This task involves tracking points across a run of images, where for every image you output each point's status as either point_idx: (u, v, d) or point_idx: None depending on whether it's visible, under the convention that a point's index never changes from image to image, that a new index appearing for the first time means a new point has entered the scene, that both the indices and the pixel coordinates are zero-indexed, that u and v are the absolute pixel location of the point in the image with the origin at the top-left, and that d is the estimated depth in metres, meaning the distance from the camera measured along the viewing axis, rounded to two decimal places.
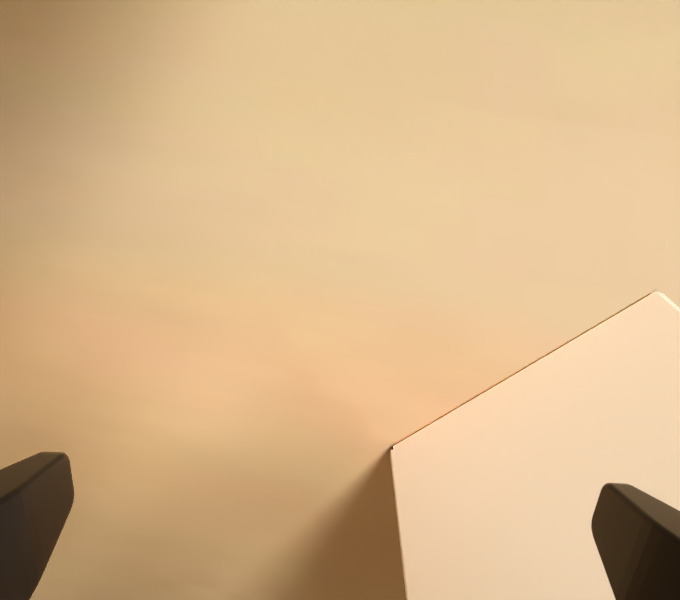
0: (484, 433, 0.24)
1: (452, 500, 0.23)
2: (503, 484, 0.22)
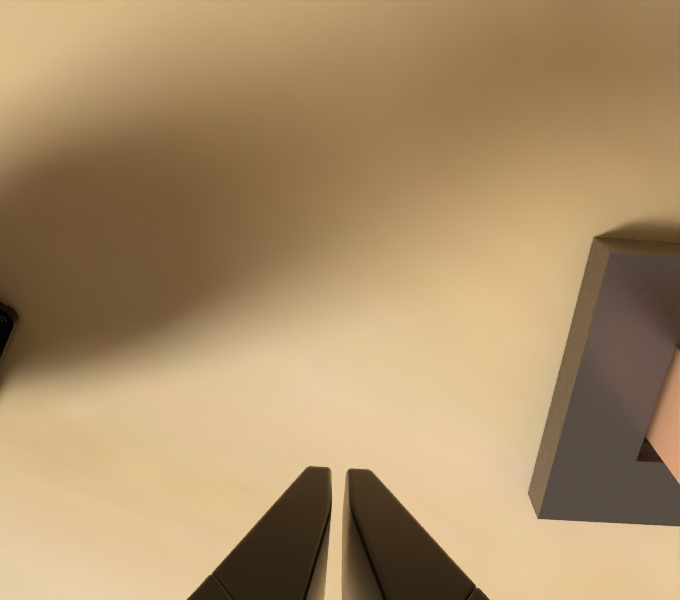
0: None
1: None
2: None
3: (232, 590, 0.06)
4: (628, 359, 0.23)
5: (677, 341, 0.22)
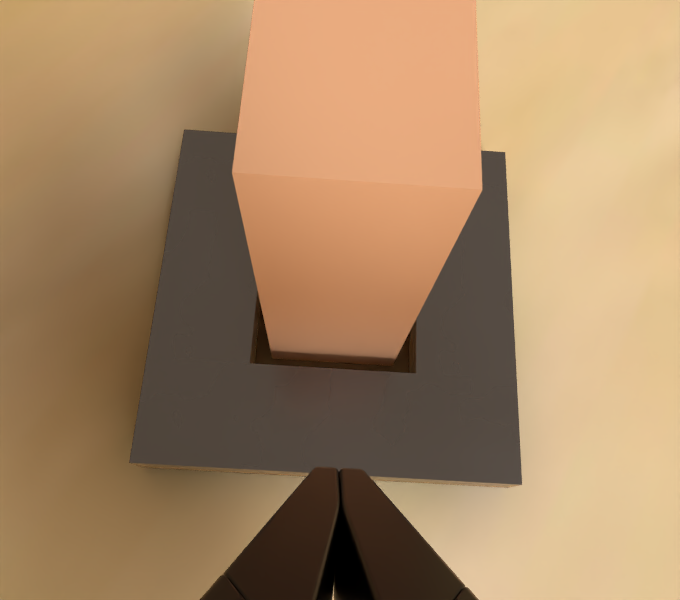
0: None
1: None
2: None
3: (244, 591, 0.06)
4: (269, 413, 0.19)
5: (247, 363, 0.20)
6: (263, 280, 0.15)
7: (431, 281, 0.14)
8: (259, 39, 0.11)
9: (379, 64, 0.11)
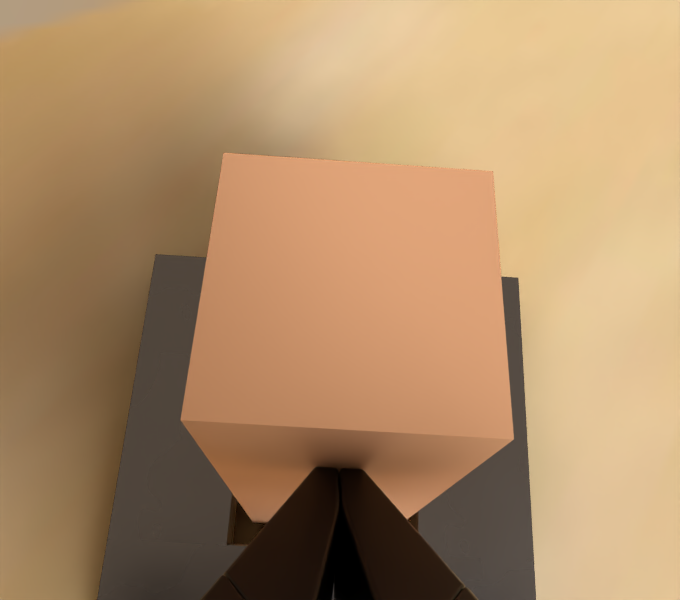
0: None
1: None
2: None
3: (244, 591, 0.06)
4: None
5: (223, 544, 0.17)
6: (234, 483, 0.12)
7: (441, 489, 0.11)
8: (224, 228, 0.09)
9: (374, 260, 0.09)
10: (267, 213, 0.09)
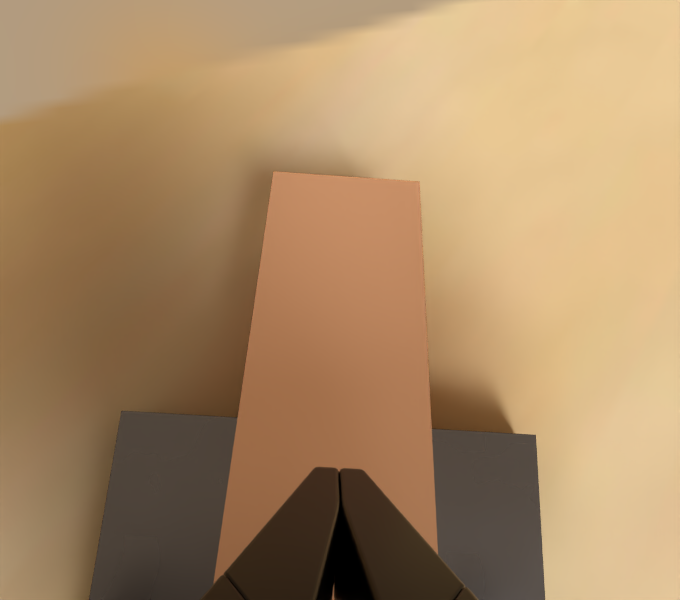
0: None
1: None
2: None
3: (244, 591, 0.06)
4: None
5: None
6: (261, 307, 0.15)
7: (421, 298, 0.15)
8: None
9: None
10: None
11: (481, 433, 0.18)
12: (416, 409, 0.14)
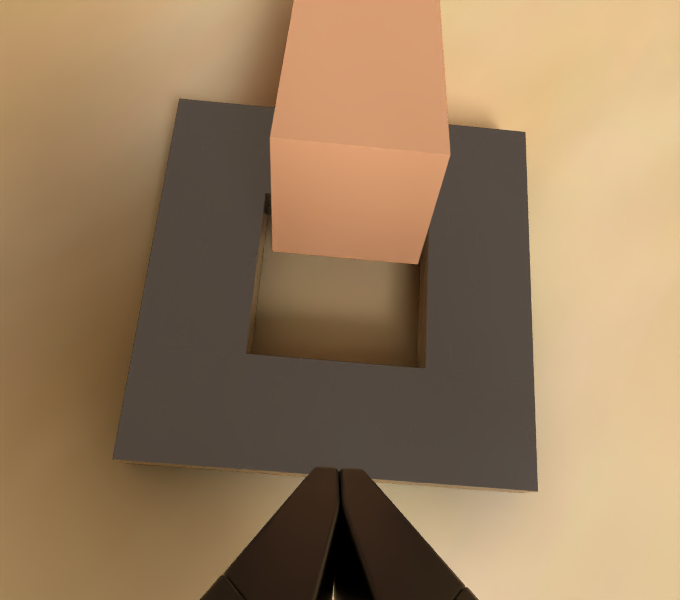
0: None
1: None
2: None
3: (244, 591, 0.06)
4: (266, 408, 0.18)
5: (243, 353, 0.18)
6: None
7: None
8: None
9: None
10: None
11: (480, 128, 0.21)
12: (430, 31, 0.17)
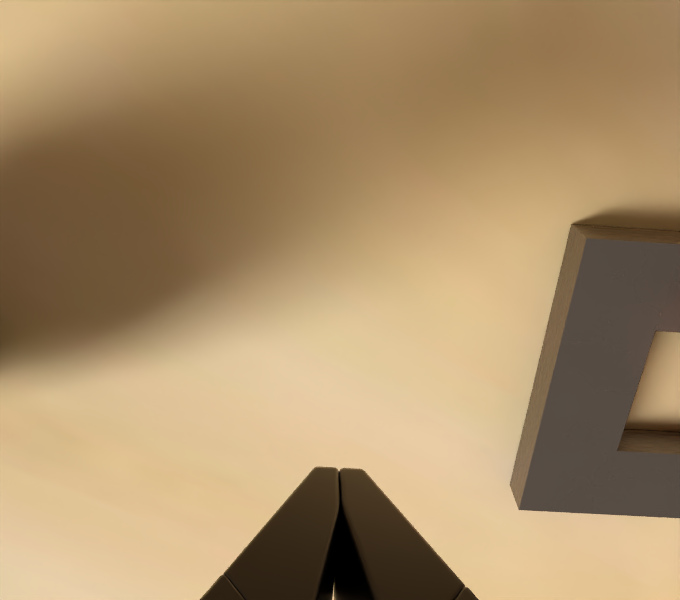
0: None
1: None
2: None
3: (244, 590, 0.06)
4: (606, 347, 0.22)
5: (656, 328, 0.22)
6: None
7: None
8: None
9: None
10: None
11: None
12: None
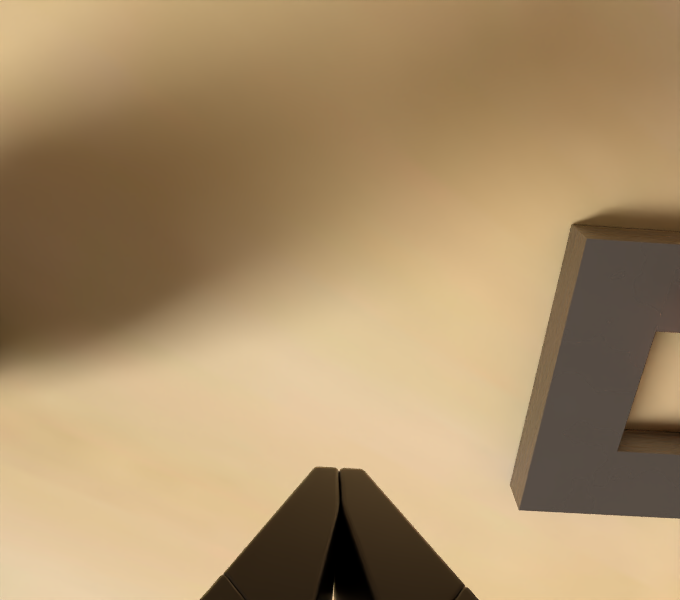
0: None
1: None
2: None
3: (244, 591, 0.06)
4: (607, 347, 0.22)
5: (656, 329, 0.22)
6: None
7: None
8: None
9: None
10: None
11: None
12: None
